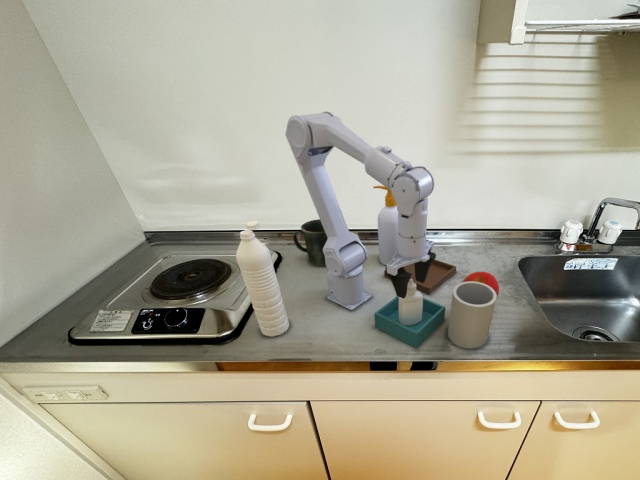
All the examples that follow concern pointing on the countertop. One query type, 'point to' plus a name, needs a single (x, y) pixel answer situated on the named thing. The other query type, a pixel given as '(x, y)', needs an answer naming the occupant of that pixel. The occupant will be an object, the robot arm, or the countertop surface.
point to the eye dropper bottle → (411, 306)
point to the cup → (471, 314)
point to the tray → (431, 276)
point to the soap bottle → (388, 228)
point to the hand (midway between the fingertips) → (410, 288)
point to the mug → (313, 241)
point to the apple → (484, 280)
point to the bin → (414, 333)
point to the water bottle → (261, 283)
